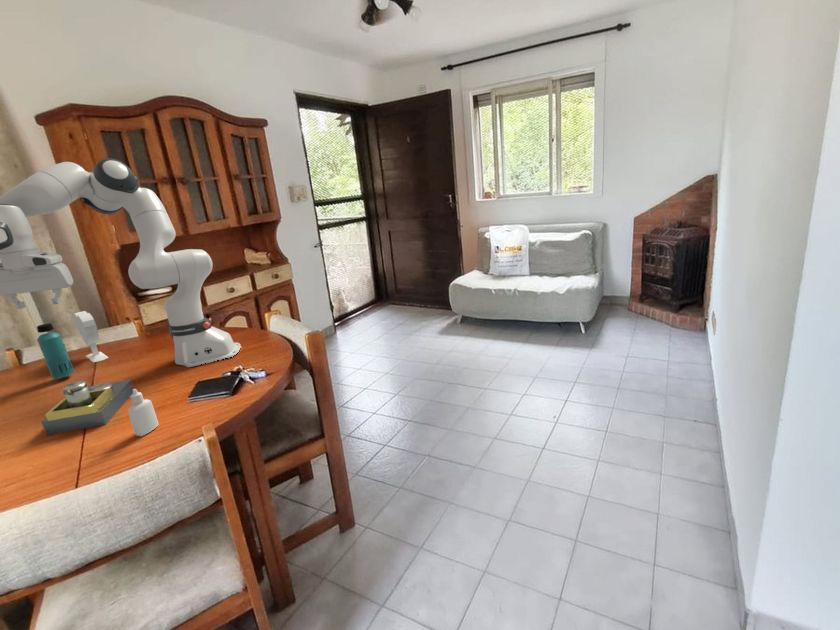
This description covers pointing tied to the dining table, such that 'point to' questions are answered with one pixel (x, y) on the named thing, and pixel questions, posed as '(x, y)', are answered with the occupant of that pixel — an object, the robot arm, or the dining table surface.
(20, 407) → the dining table surface
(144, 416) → the eye dropper bottle
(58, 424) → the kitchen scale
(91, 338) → the white angular piece
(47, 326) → the beverage bottle
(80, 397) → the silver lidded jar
